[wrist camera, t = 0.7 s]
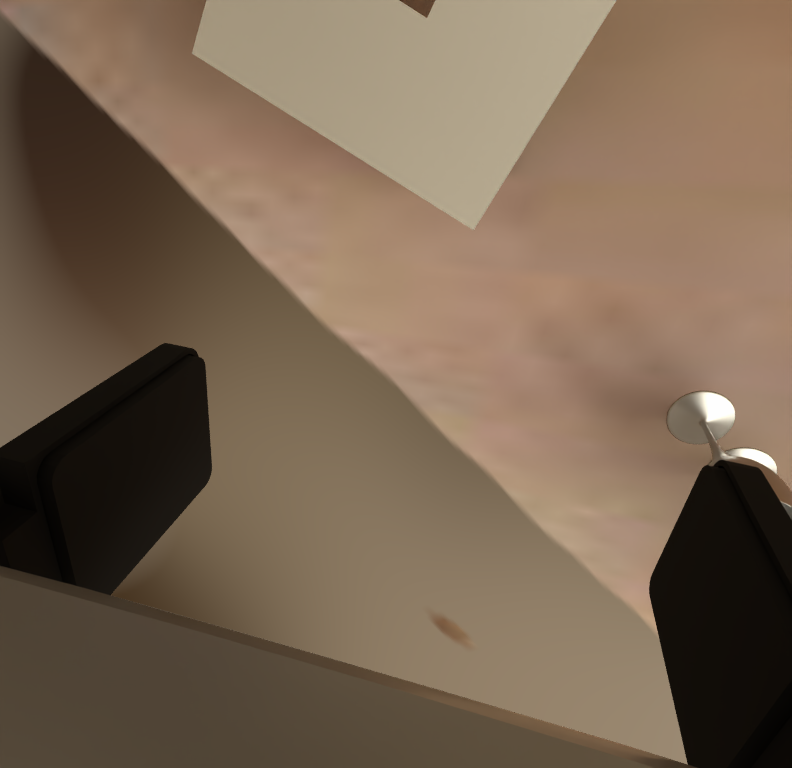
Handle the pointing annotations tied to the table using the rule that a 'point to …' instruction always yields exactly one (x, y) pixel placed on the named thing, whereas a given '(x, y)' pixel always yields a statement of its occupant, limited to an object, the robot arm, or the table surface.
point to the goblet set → (709, 421)
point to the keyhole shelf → (409, 80)
